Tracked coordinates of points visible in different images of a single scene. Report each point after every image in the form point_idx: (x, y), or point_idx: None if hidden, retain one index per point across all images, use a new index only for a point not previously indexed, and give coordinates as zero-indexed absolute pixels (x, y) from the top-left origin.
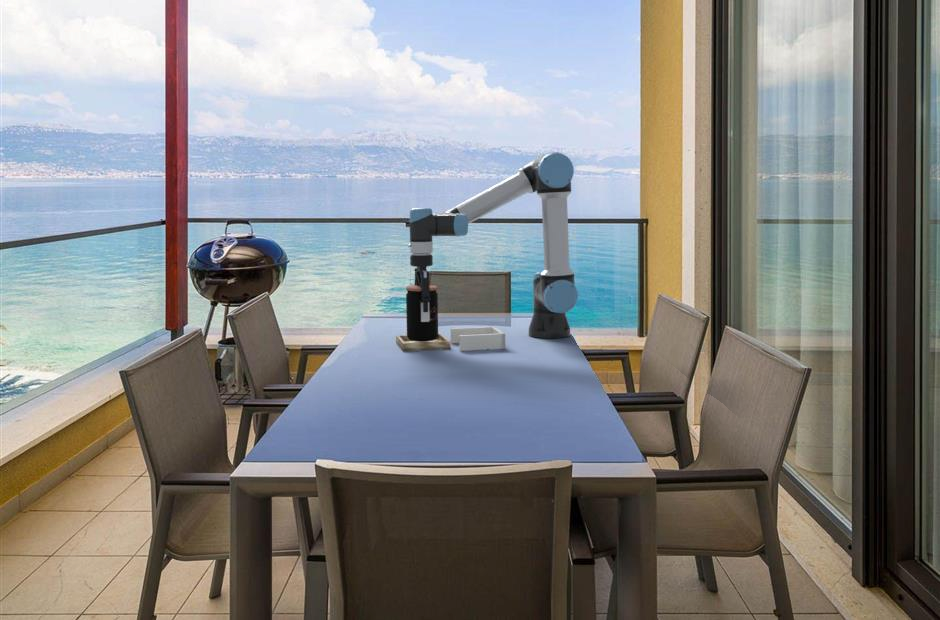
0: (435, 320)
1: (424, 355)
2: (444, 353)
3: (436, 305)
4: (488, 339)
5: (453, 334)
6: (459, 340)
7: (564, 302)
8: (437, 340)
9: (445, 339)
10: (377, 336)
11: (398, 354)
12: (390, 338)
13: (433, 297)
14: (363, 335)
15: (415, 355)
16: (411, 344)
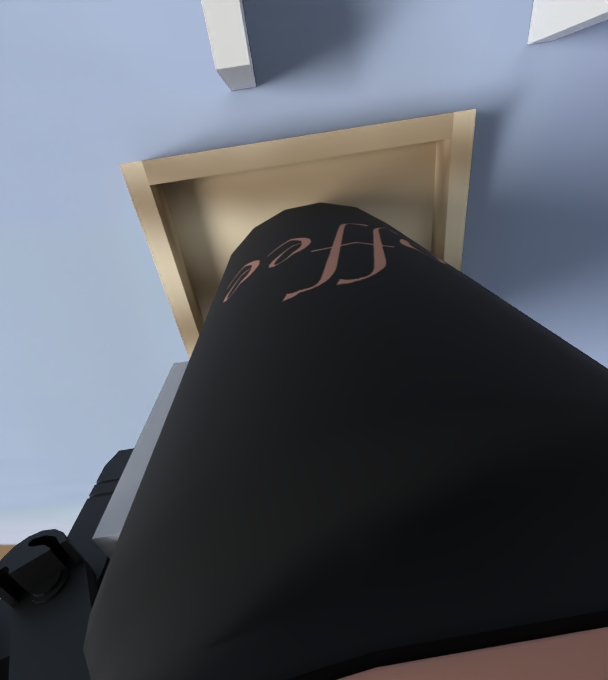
0: (436, 256)
1: (570, 279)
2: (574, 167)
3: (499, 302)
4: None
5: (248, 49)
6: (591, 20)
7: None
8: (230, 196)
9: (391, 144)
10: (64, 477)
11: None
12: (108, 430)
13: None
14: (51, 518)
15: (550, 319)
16: None
